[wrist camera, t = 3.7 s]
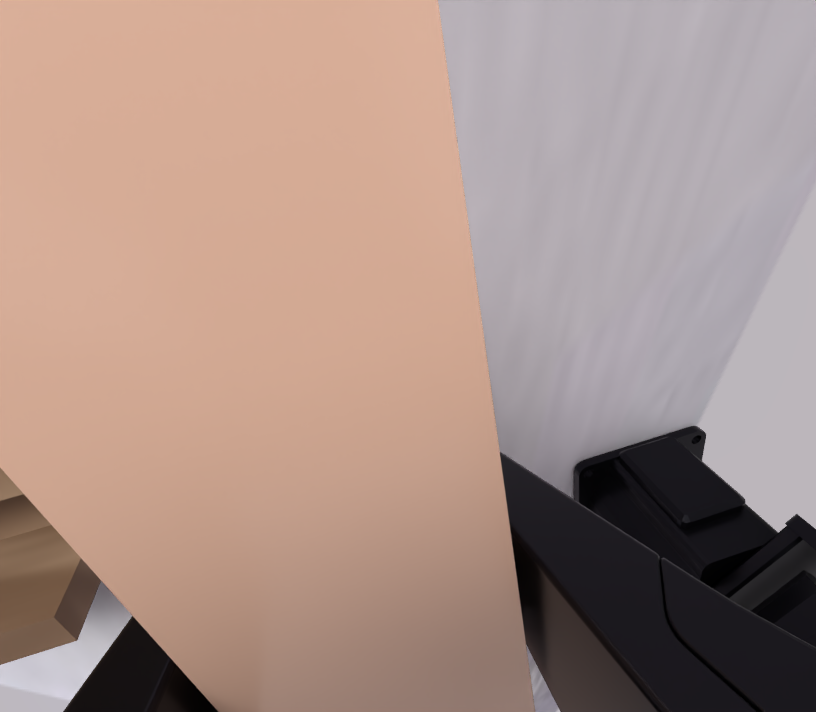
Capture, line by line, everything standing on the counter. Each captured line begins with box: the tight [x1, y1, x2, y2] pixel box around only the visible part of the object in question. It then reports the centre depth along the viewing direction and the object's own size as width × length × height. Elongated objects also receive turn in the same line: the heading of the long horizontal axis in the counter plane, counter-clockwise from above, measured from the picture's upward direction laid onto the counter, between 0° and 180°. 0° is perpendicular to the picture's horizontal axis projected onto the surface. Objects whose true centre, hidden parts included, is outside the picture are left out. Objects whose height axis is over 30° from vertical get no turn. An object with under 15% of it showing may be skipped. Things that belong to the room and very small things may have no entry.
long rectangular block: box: [0, 0, 535, 712], centre depth 7 cm, size 14×4×4 cm, turn 12°
